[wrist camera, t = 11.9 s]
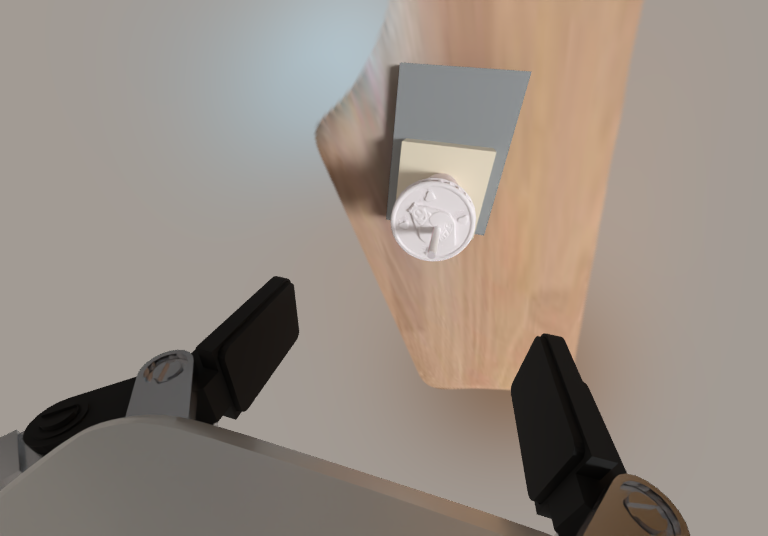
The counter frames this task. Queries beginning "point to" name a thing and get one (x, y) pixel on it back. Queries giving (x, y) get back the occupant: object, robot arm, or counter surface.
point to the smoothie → (433, 218)
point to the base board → (455, 129)
